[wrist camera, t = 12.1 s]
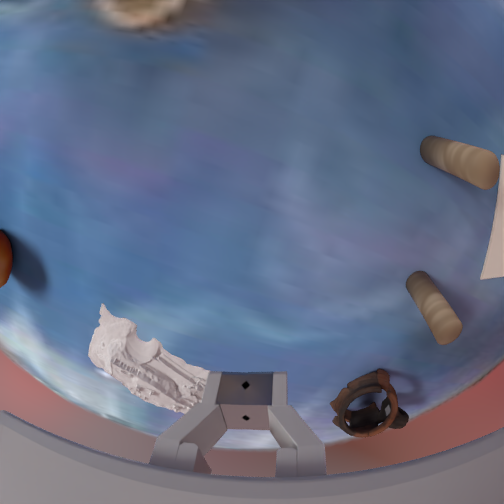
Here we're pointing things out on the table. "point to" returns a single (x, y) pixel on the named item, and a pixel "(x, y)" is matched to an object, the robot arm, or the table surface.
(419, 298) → the post
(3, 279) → the fruit
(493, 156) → the post
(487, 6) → the table surface
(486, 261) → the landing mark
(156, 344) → the terrain model
